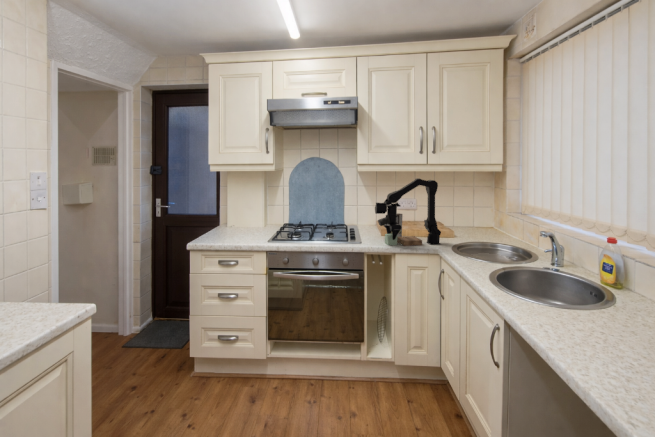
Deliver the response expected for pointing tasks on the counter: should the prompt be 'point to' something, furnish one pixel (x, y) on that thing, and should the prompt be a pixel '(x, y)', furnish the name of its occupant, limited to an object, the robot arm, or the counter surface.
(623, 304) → the counter surface
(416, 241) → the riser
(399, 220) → the coffee box
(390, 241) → the cube
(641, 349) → the counter surface
